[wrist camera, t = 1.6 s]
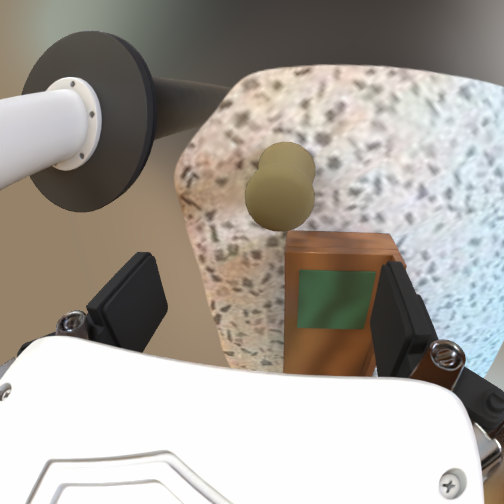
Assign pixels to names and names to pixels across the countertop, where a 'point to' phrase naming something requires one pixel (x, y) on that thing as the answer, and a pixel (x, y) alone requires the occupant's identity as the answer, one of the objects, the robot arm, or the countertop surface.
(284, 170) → the cork
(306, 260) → the wooden shelf
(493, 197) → the countertop surface
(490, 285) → the countertop surface
